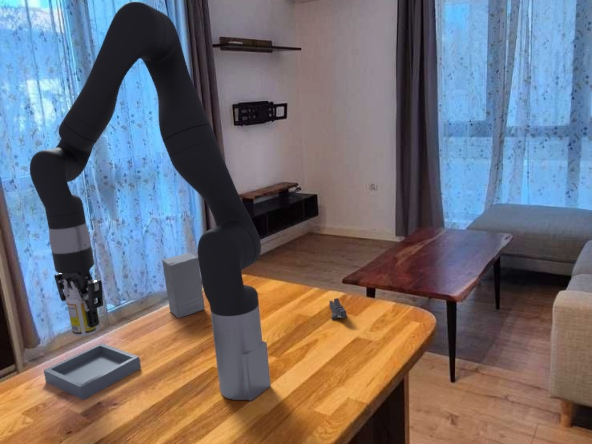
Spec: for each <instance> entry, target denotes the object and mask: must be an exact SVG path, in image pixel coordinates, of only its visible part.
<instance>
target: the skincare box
mask: <svg viewBox="0 0 592 444" xmlns="http://www.w3.org/2000/svg"><path fill="white" fill-rule="evenodd" d="M161 262H162V268H163V275H164V280H165V286H166V294H167V299H168V300H167V301H168V306H169V311H170V313H171V314H172V315H174V316H175V317H176V318H177V319H181V318H183V317H186V316H189V315H192V314H195V313H198V312H200V311H203V310H206V309H205V300H204V294H203V293H204V291H203V284H202V278H201V273H200V267H199V261H198V256H196V255H194V254H192V253H191V252H186V253H182V254H179V255H174V256H171V257H167V258H162V259H161Z"/></svg>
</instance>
